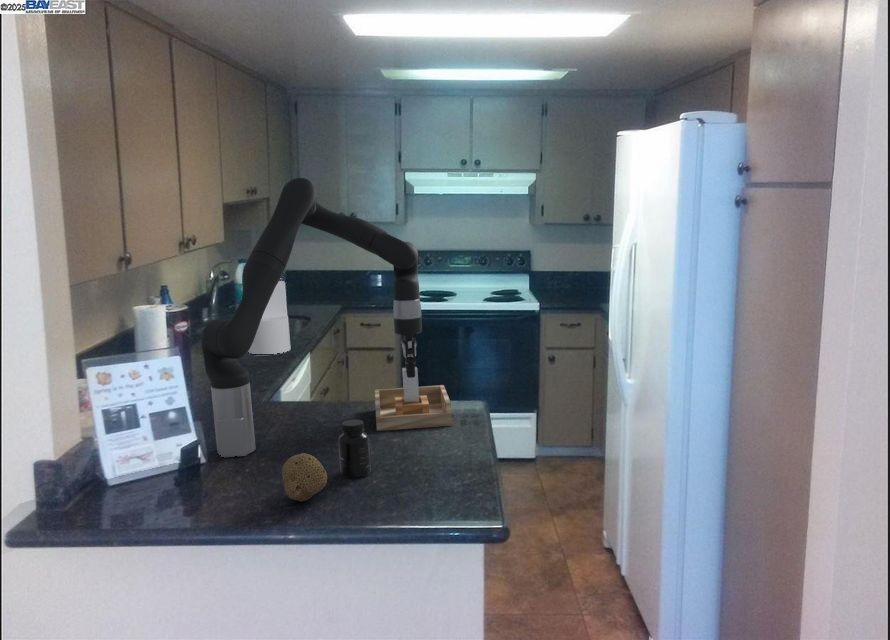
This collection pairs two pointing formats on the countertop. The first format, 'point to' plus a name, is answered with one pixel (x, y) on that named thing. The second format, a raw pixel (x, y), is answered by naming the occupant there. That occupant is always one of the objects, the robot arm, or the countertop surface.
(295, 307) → the countertop surface
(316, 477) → the natural sponge
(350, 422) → the supplement bottle
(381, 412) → the walled box
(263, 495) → the countertop surface
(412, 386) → the connector peg
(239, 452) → the robot arm
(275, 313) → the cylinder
